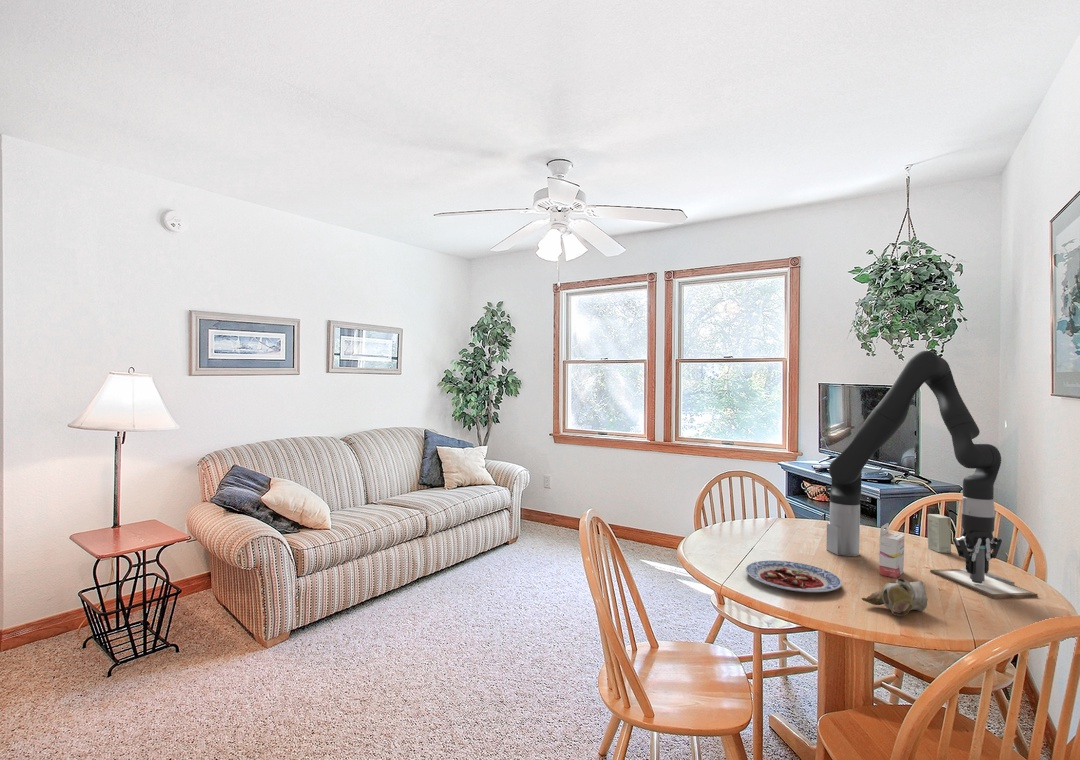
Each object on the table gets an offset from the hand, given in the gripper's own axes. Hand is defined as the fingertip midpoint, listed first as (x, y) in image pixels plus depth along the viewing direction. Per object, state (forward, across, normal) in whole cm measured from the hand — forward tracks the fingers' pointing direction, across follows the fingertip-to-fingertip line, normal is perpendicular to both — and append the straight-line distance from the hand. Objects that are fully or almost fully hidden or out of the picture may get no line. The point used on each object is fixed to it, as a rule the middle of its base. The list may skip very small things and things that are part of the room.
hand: (977, 572), depth 162 cm
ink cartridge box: (+4, -16, +13) cm, 21 cm away
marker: (+3, 0, 0) cm, 3 cm away
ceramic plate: (+5, -51, +9) cm, 52 cm away
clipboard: (+4, +4, +3) cm, 6 cm away
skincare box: (+4, +19, +34) cm, 39 cm away
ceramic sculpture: (+5, -36, -13) cm, 38 cm away
